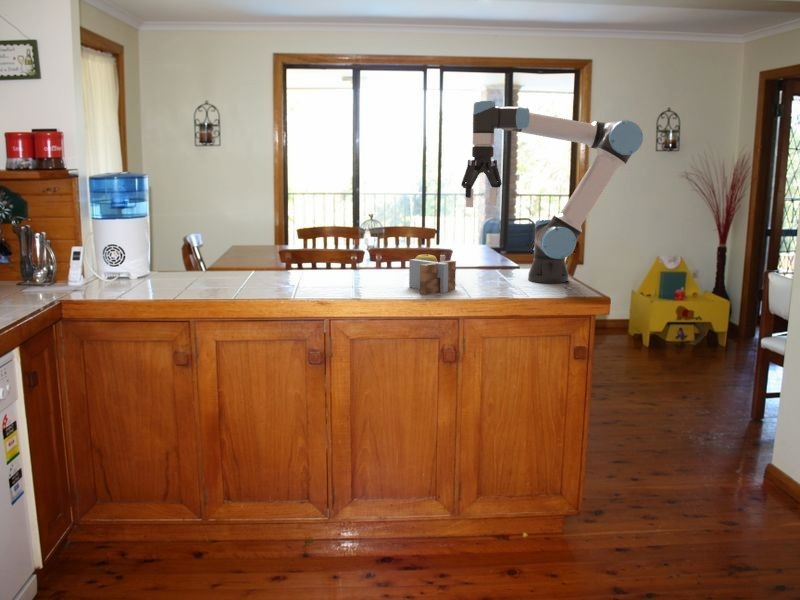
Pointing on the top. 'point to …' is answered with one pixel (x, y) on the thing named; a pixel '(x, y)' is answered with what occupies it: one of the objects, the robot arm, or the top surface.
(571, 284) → the top surface
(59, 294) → the top surface
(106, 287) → the top surface
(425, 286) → the notched wooden slab
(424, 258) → the apple
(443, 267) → the grey notched arch block
